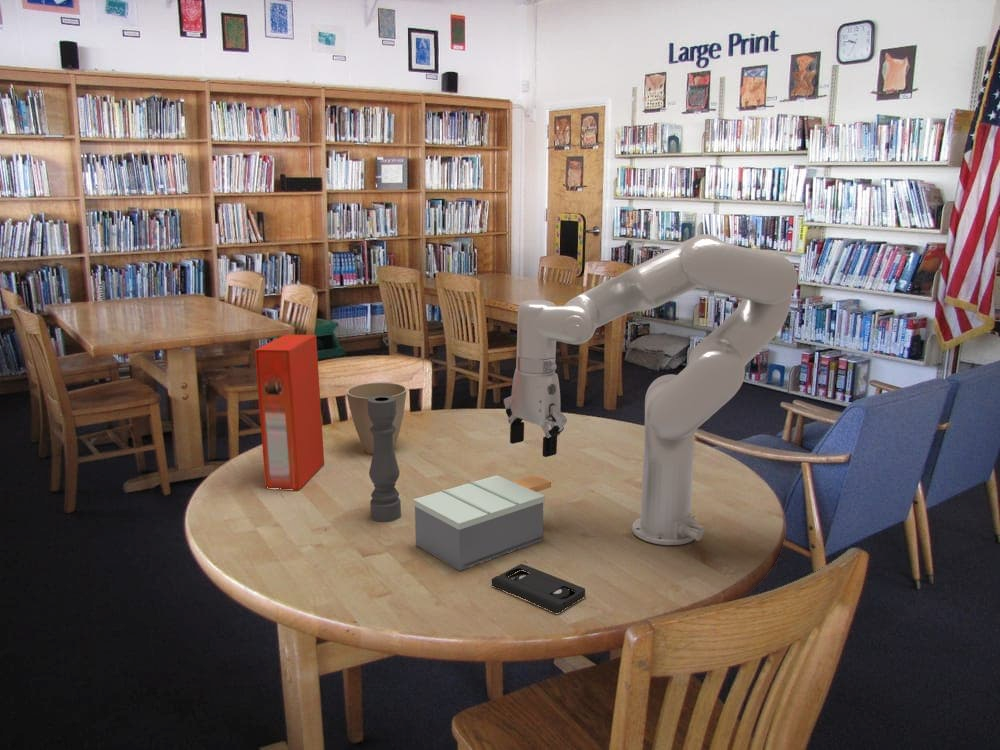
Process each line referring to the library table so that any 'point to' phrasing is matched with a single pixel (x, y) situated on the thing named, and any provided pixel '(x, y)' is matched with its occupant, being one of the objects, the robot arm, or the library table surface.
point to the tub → (478, 536)
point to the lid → (483, 500)
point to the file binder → (290, 410)
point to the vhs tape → (539, 588)
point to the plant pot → (360, 409)
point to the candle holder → (383, 460)
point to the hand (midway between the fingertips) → (532, 448)
